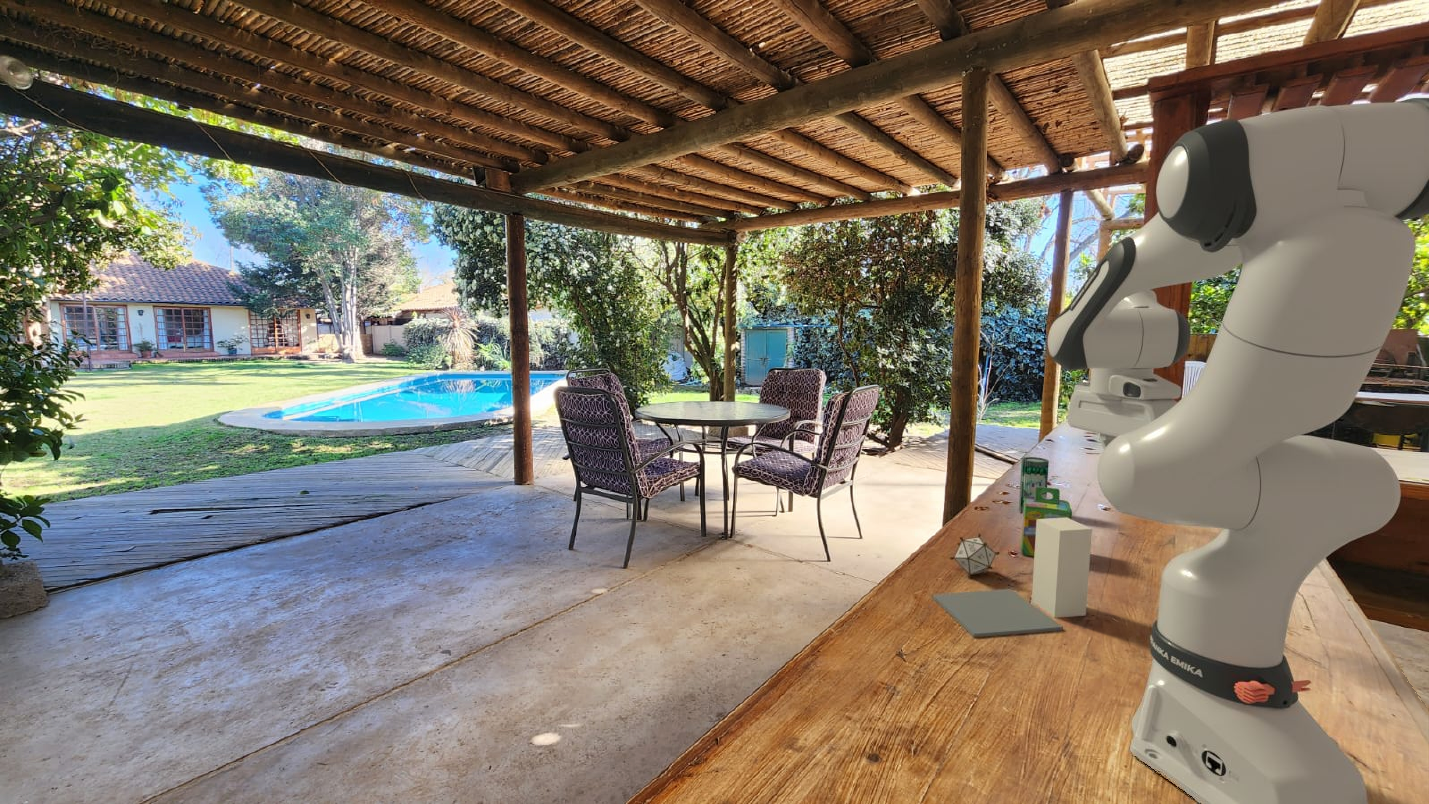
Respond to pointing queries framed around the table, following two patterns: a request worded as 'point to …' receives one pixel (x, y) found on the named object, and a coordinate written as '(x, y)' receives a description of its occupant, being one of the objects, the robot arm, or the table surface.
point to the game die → (974, 555)
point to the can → (1032, 477)
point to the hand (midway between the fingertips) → (1114, 461)
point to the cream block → (1061, 566)
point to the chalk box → (1040, 515)
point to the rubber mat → (995, 613)
